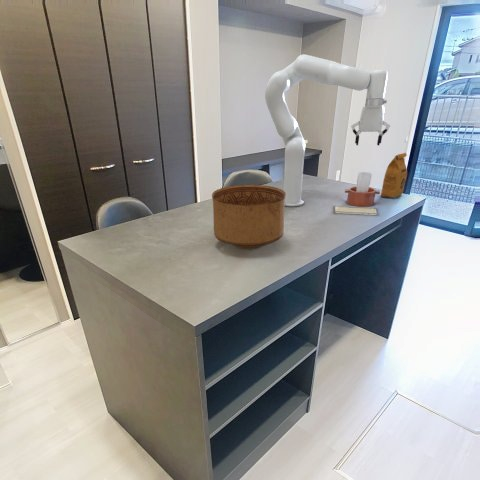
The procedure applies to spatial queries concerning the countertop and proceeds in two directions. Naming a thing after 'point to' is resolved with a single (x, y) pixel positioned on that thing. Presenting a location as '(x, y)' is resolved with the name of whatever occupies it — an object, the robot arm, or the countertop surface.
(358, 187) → the drinking glass
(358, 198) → the cooking pot
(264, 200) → the pot
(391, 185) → the coffee package
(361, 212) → the tea towel
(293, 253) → the countertop surface
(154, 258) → the countertop surface
